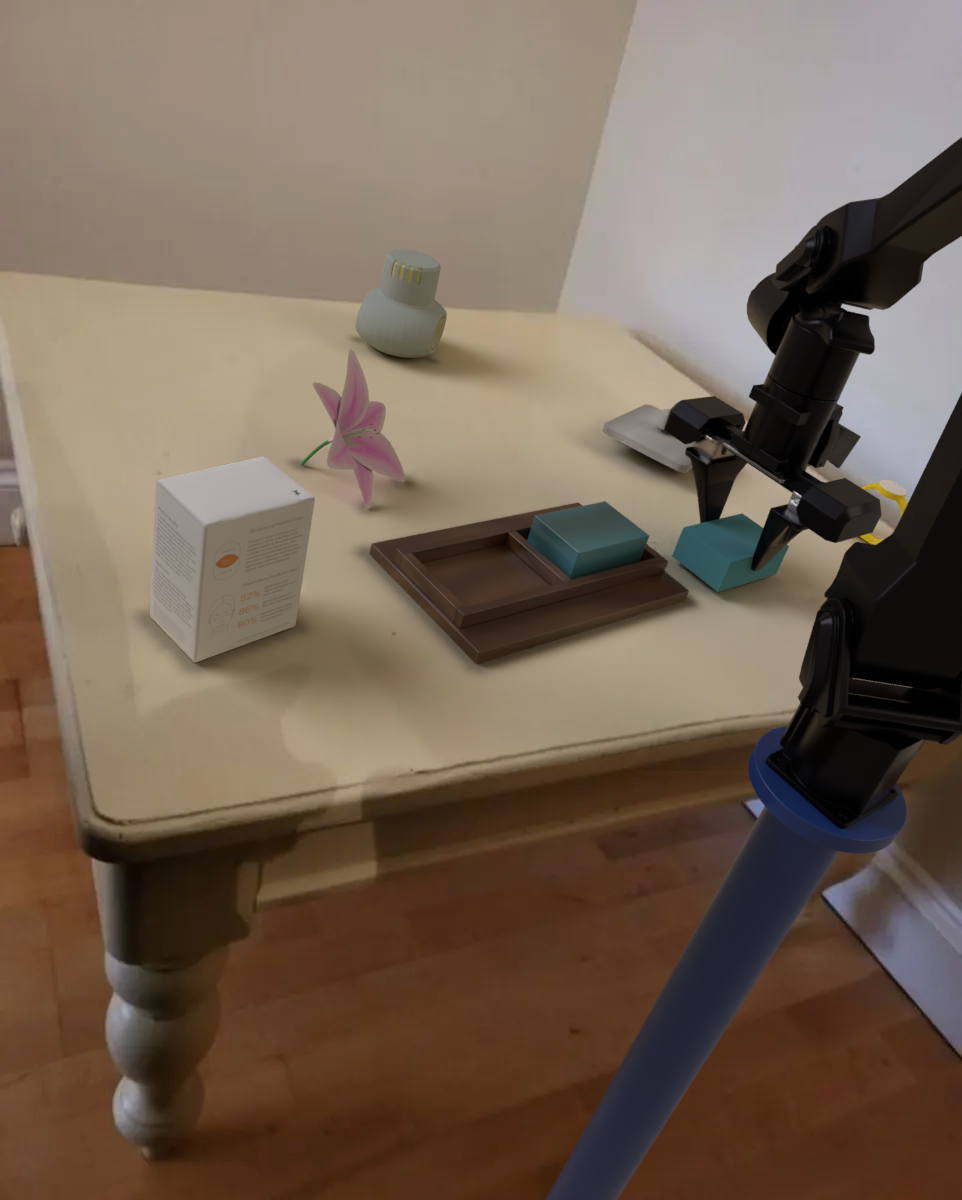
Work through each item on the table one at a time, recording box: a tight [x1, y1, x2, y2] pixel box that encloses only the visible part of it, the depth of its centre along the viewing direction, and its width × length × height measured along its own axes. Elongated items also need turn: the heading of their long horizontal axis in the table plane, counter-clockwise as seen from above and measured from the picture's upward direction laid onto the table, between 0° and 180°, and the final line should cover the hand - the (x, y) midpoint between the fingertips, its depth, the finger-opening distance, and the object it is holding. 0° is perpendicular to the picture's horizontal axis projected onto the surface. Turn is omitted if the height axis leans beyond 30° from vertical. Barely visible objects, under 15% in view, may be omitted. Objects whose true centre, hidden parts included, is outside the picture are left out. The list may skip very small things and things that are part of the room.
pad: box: [671, 512, 790, 593], centre depth 88 cm, size 6×8×3 cm
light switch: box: [602, 403, 694, 473], centre depth 104 cm, size 10×10×5 cm
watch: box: [859, 479, 909, 545], centre depth 99 cm, size 6×3×6 cm, turn 46°
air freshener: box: [355, 248, 448, 359], centre depth 110 cm, size 11×8×10 cm
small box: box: [149, 455, 316, 663], centre depth 65 cm, size 8×6×10 cm
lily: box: [300, 348, 406, 510], centre depth 85 cm, size 12×12×10 cm
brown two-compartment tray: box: [369, 501, 690, 664], centre depth 80 cm, size 14×22×4 cm, turn 127°
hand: (730, 551), depth 88 cm, fingers closed on pad, 5 cm apart
